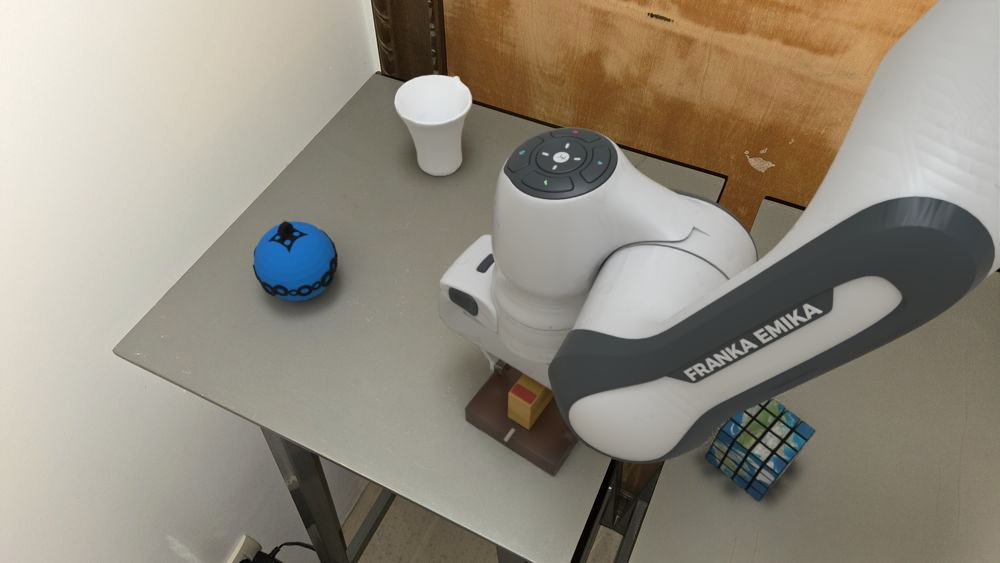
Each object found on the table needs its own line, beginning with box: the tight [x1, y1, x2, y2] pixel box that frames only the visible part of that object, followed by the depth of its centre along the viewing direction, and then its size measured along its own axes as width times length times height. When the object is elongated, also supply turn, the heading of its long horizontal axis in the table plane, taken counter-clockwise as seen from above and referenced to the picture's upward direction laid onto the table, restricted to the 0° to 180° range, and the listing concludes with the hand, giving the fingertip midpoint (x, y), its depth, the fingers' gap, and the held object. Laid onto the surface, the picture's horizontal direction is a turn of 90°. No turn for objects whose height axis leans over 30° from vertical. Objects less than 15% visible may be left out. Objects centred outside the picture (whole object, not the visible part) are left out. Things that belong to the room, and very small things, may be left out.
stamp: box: [508, 374, 554, 430], centre depth 69 cm, size 7×2×5 cm, turn 145°
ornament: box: [252, 220, 339, 302], centre depth 78 cm, size 9×9×10 cm
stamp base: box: [464, 366, 580, 477], centre depth 72 cm, size 11×11×3 cm
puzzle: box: [705, 398, 816, 502], centre depth 68 cm, size 6×6×6 cm
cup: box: [393, 74, 473, 177], centre depth 90 cm, size 9×9×10 cm
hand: (539, 391), depth 70 cm, fingers open, 7 cm apart
